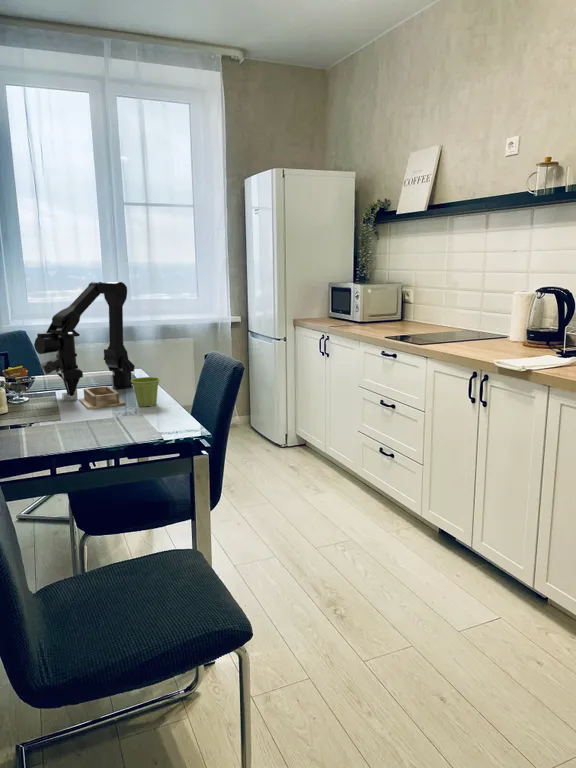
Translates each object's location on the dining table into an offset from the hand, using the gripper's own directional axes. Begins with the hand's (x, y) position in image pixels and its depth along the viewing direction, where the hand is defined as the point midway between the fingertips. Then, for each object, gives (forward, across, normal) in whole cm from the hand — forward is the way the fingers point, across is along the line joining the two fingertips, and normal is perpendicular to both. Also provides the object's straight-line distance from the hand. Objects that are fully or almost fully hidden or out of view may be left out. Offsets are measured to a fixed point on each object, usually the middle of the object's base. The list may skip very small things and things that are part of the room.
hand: (70, 394), depth 205 cm
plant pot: (+2, +24, +20) cm, 31 cm away
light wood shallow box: (+2, +12, +8) cm, 14 cm away
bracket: (+2, 0, 0) cm, 2 cm away
